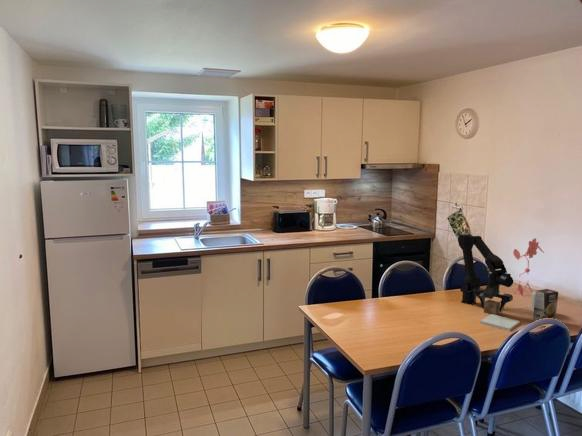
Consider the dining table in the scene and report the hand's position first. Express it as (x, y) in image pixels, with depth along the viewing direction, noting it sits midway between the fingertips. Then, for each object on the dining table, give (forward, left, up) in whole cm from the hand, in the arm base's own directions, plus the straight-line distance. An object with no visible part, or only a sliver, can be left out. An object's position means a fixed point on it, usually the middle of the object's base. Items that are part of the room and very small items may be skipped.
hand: (491, 310), depth 241 cm
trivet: (+9, -13, -1) cm, 16 cm away
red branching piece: (+4, +49, -2) cm, 49 cm away
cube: (0, 0, -2) cm, 2 cm away
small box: (+18, +18, -2) cm, 26 cm away
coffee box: (+24, +6, -2) cm, 25 cm away
